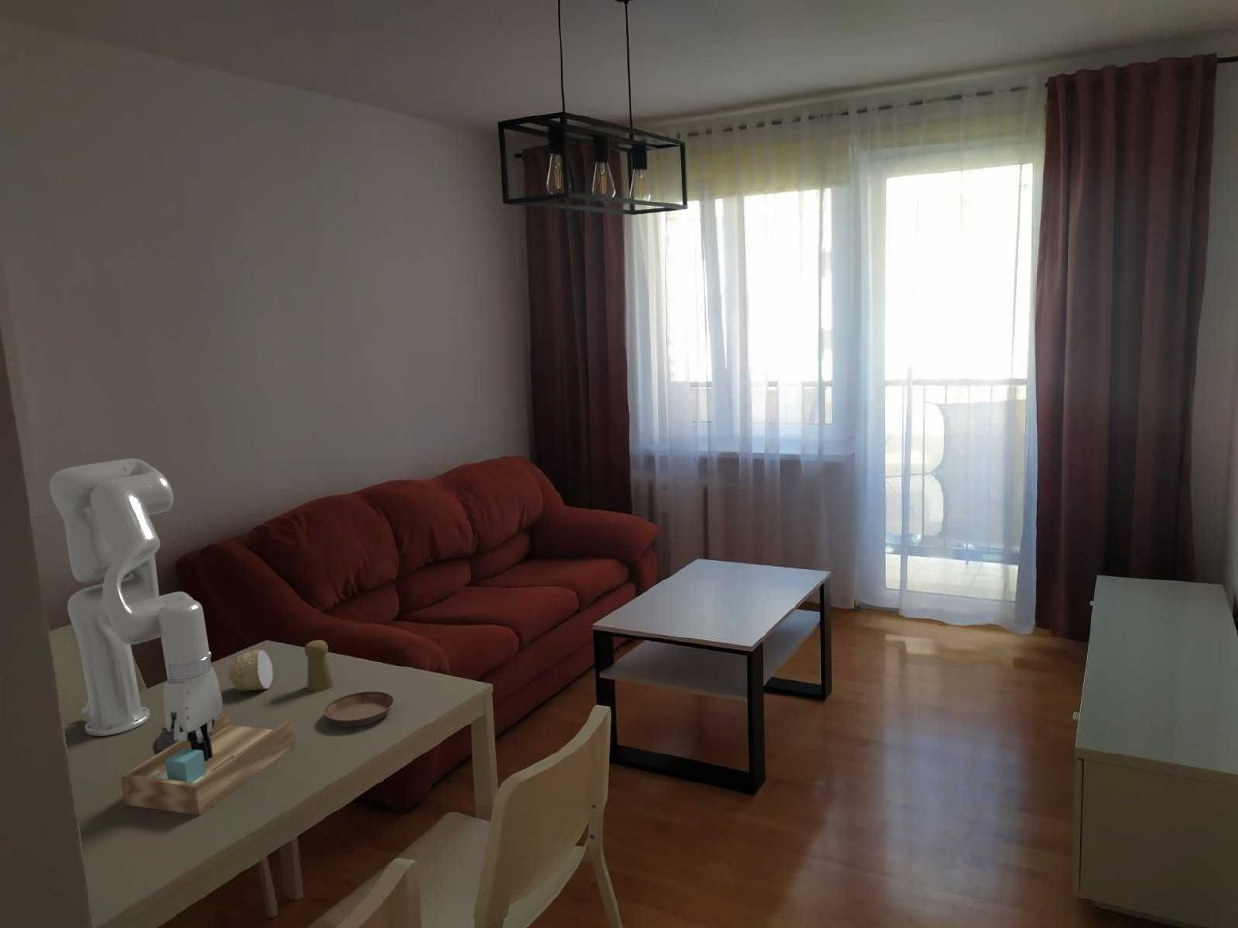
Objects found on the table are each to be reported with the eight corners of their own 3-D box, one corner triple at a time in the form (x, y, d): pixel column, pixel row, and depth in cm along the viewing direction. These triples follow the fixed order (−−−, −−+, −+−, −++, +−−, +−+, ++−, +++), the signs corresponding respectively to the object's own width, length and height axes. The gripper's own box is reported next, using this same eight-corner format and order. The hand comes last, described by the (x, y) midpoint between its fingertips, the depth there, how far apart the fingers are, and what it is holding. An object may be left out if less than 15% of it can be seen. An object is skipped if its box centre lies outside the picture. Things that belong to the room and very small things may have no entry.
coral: (271, 667, 207) (229, 653, 206) (260, 704, 209) (218, 691, 209) (286, 649, 216) (246, 635, 215) (275, 684, 218) (236, 671, 218)
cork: (307, 683, 214) (302, 639, 212) (334, 679, 216) (328, 635, 214) (307, 693, 208) (301, 648, 206) (334, 688, 210) (328, 644, 208)
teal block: (168, 782, 164) (164, 760, 164) (186, 770, 169) (183, 748, 168) (188, 785, 163) (184, 762, 162) (206, 772, 167) (202, 750, 166)
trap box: (125, 804, 164) (120, 776, 163) (227, 737, 188) (223, 713, 187) (199, 815, 158) (195, 786, 157) (294, 745, 182) (291, 720, 182)
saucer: (383, 695, 205) (381, 684, 204) (405, 718, 193) (403, 706, 192) (317, 714, 197) (315, 702, 197) (335, 739, 185) (334, 726, 184)
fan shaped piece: (199, 721, 198) (198, 714, 198) (201, 745, 186) (200, 738, 186) (157, 730, 194) (156, 723, 194) (156, 756, 182) (155, 749, 182)
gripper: (202, 651, 175) (215, 738, 178) (140, 682, 161) (156, 776, 164) (233, 653, 173) (246, 741, 176) (174, 684, 159) (189, 780, 162)
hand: (203, 758), depth 170 cm, fingers closed
